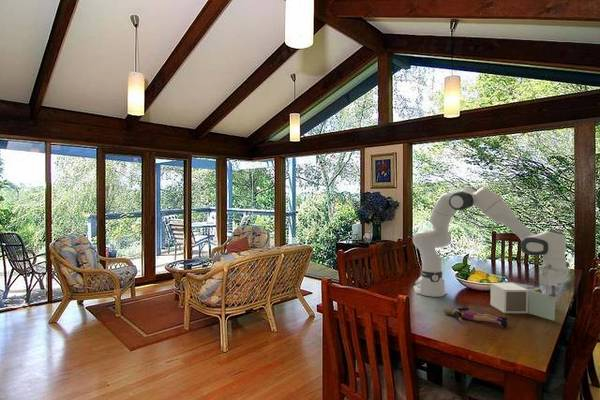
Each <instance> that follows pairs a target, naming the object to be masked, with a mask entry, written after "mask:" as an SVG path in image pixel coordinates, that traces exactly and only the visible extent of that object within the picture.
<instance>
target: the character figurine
mask: <svg viewBox="0 0 600 400" xmlns="http://www.w3.org/2000/svg"><path fill="white" fill-rule="evenodd" d="M472 309H473V308H472V307H471V306H470V307H469V306H468V307H458V308H454V309H453V308H451V307H449V306H444V307H442V311H443V312H444V314H446V315H447V316H454V317H455V318H458V320H459V321H460V322H462V321H463V319H465V320H468V321H472V322H475V321H479V322H480V321H481V322H483V321H484V322H490V323H496V324H499V325H500V326H501V328H503V329H505V328H507V327H506V326H507V325H508V322H507V321H508V318H507V317H502V316H499V317H498V316H494V315H493V314H492V315H491V314H489V313H488V314H487V313H484V314H481V313H478V312H476V311H475V312H474V311H471V310H472ZM463 311H464V312H463ZM462 318H463V319H462Z"/></svg>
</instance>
